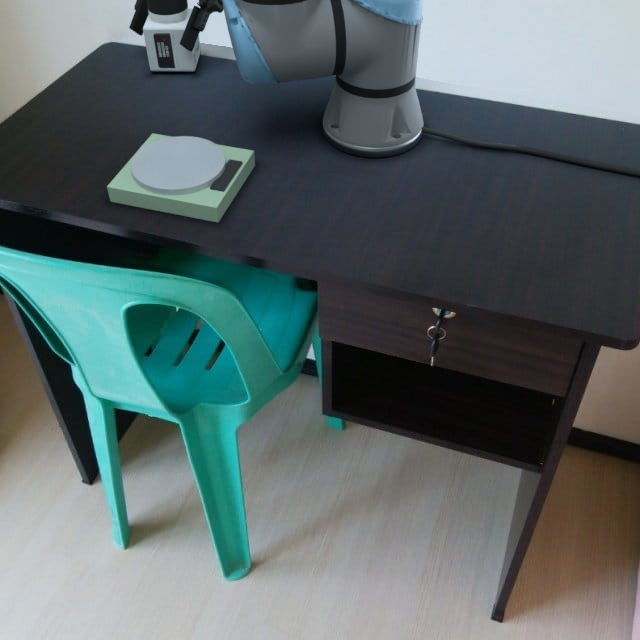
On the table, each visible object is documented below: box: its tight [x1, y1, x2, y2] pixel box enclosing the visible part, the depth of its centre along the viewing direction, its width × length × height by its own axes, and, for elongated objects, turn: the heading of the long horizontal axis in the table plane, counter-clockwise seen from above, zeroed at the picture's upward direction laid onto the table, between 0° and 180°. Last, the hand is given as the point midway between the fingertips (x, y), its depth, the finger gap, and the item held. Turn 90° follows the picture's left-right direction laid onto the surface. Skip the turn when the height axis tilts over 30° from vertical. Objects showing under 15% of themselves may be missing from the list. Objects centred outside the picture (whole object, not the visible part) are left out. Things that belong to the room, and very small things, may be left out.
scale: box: [106, 132, 256, 223], centre depth 105 cm, size 16×14×4 cm
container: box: [143, 0, 202, 72], centre depth 125 cm, size 8×8×13 cm
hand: (160, 39), depth 125 cm, fingers closed on container, 10 cm apart
